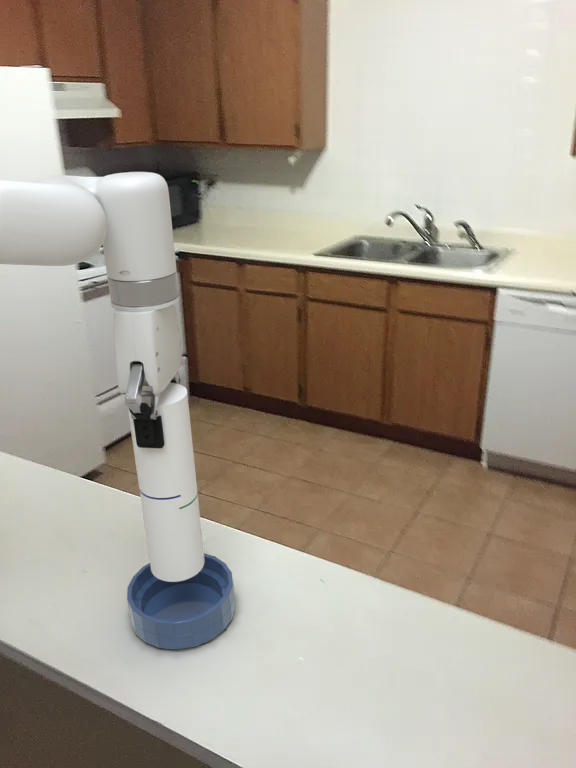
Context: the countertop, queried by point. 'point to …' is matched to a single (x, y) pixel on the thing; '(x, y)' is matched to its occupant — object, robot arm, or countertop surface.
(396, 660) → the countertop surface
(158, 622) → the bowl
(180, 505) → the cylindrical container
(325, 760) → the countertop surface
